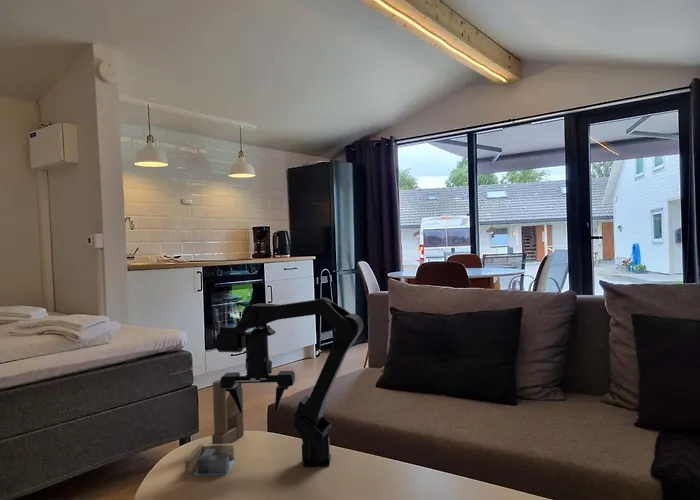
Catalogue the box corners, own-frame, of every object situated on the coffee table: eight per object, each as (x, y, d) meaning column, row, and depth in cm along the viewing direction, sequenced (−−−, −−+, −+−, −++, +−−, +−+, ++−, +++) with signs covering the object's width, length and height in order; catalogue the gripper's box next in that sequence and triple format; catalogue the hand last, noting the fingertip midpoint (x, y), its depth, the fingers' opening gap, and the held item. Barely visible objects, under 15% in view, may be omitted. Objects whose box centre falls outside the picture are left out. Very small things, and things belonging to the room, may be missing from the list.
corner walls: (234, 458, 135) (234, 443, 135) (223, 476, 124) (222, 459, 124) (199, 459, 135) (199, 444, 135) (185, 477, 124) (185, 460, 125)
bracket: (198, 474, 126) (197, 459, 126) (207, 462, 133) (206, 448, 133) (226, 473, 125) (226, 459, 125) (234, 462, 132) (233, 448, 132)
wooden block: (244, 435, 152) (242, 374, 152) (223, 449, 142) (220, 383, 142) (233, 434, 153) (231, 373, 154) (211, 447, 143) (209, 382, 143)
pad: (235, 461, 133) (235, 460, 133) (226, 474, 125) (226, 473, 125) (204, 461, 134) (204, 461, 134) (194, 475, 126) (194, 474, 126)
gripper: (296, 345, 142) (298, 402, 142) (229, 347, 143) (231, 404, 143) (291, 353, 131) (293, 415, 131) (218, 355, 132) (220, 417, 132)
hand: (259, 412), depth 134 cm, fingers open, 9 cm apart
